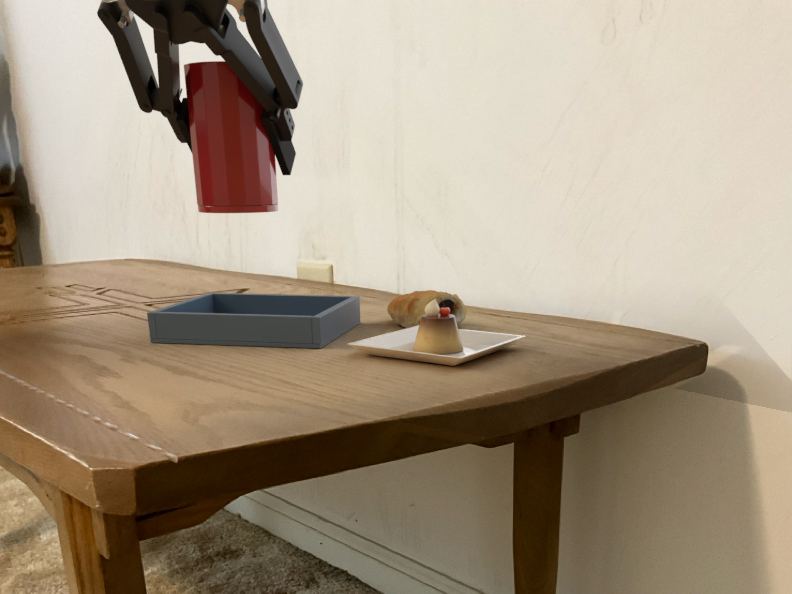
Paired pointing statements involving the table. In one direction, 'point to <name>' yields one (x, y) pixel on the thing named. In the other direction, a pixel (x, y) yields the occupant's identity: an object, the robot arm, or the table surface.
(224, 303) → the serving tray
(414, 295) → the pastry
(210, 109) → the cup
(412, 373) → the table surface
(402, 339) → the dessert
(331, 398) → the table surface
